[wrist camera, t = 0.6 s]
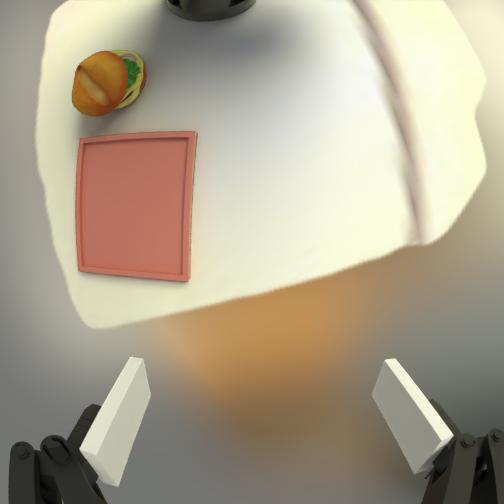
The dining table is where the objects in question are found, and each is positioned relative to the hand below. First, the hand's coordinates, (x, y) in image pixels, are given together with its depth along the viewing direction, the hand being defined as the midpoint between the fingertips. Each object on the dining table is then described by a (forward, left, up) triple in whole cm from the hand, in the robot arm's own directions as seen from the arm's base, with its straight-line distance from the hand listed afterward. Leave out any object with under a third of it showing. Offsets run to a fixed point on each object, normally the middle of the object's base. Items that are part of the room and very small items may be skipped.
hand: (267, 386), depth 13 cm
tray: (-7, -18, -25) cm, 32 cm away
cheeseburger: (-25, -21, -26) cm, 42 cm away
